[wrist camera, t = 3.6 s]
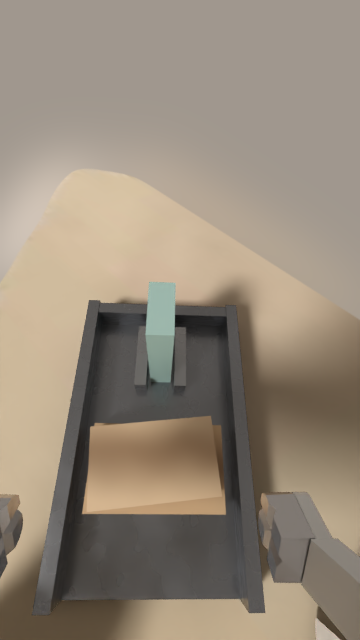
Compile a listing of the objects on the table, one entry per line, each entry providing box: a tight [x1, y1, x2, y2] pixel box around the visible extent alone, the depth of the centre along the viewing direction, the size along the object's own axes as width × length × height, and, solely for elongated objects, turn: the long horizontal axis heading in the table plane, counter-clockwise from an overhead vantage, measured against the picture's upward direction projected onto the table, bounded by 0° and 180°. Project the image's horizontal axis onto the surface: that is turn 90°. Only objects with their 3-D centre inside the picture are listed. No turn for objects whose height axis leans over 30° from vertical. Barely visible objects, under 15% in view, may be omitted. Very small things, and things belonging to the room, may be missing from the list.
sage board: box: [145, 282, 175, 382], centre depth 24 cm, size 4×2×10 cm, turn 0°
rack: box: [32, 300, 265, 615], centre depth 25 cm, size 22×14×3 cm, turn 0°
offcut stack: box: [82, 416, 226, 515], centre depth 22 cm, size 6×10×4 cm, turn 90°
